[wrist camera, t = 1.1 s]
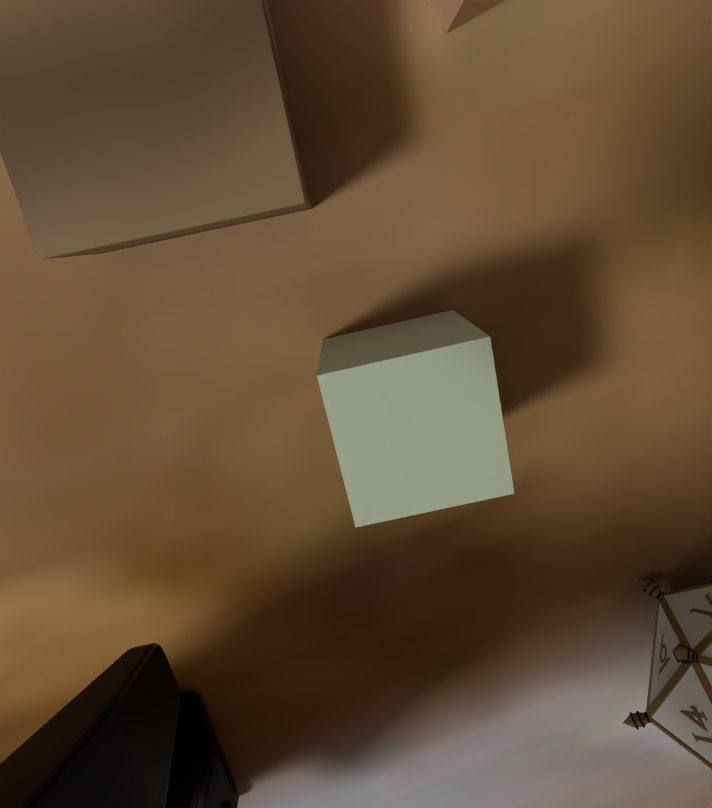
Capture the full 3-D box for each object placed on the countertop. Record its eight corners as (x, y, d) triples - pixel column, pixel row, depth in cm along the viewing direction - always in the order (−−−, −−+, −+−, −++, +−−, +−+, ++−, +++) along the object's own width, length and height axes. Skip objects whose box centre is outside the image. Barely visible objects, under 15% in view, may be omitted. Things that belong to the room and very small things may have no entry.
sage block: (473, 431, 20) (514, 493, 15) (352, 457, 20) (355, 527, 16) (452, 309, 19) (490, 336, 14) (323, 339, 19) (316, 375, 14)
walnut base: (312, 208, 18) (304, 203, 14) (103, 253, 18) (39, 259, 14) (258, -47, 16) (232, -136, 12) (22, 7, 16) (-78, -63, 12)
